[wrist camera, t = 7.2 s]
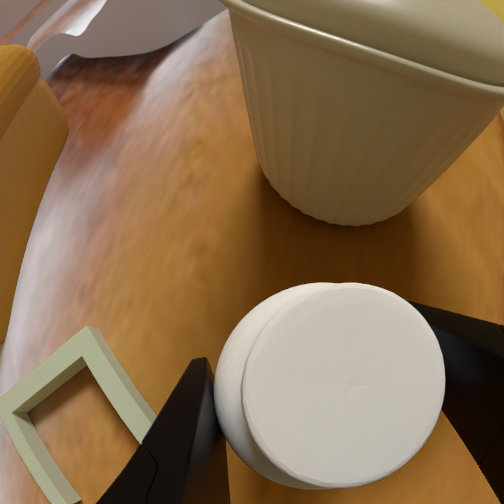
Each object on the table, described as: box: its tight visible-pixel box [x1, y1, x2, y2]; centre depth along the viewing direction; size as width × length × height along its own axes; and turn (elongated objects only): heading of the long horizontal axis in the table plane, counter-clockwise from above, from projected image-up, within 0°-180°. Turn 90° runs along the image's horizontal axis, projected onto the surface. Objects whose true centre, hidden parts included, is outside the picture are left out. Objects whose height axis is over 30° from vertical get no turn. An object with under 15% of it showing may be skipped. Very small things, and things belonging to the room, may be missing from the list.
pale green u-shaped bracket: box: [0, 325, 157, 504], centre depth 17 cm, size 10×12×2 cm
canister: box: [219, 0, 504, 226], centre depth 17 cm, size 18×18×21 cm
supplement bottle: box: [214, 283, 445, 490], centre depth 10 cm, size 6×6×10 cm
